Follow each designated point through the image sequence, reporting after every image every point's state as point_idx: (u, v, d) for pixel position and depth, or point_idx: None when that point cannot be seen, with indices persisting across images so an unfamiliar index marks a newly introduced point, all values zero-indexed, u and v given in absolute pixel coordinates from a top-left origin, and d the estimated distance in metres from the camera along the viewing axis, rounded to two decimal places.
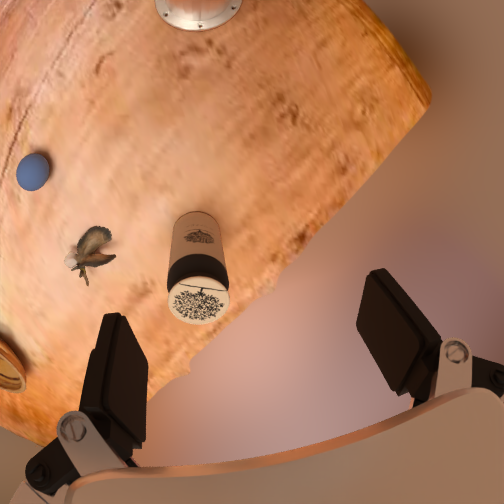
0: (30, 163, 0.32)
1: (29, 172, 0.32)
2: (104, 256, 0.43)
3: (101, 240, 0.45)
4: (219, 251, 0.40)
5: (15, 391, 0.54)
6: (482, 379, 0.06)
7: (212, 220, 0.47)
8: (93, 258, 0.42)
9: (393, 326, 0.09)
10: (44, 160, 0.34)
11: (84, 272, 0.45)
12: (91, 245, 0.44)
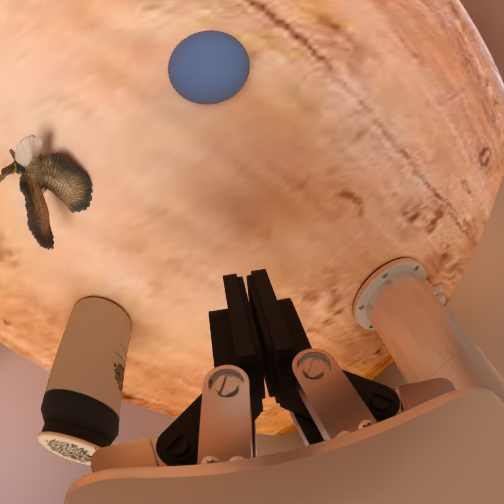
0: (235, 81, 0.17)
1: (219, 78, 0.16)
2: (47, 226, 0.21)
3: (69, 201, 0.23)
4: None
5: None
6: None
7: None
8: (40, 209, 0.19)
9: (259, 329, 0.09)
10: None
11: (10, 173, 0.18)
12: (59, 187, 0.21)
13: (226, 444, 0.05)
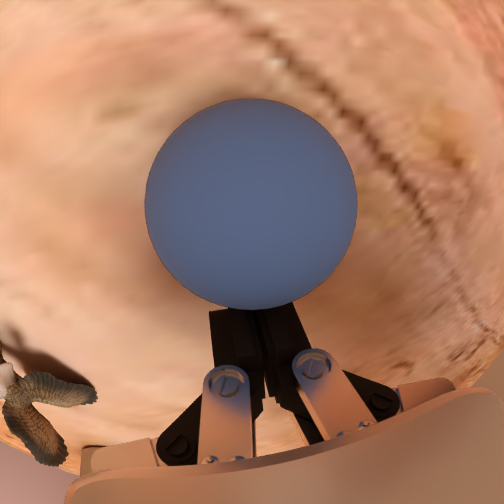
0: (340, 201, 0.06)
1: (293, 178, 0.05)
2: (56, 443, 0.13)
3: None
4: None
5: None
6: None
7: None
8: (42, 438, 0.12)
9: (259, 329, 0.09)
10: (309, 291, 0.08)
11: None
12: (54, 404, 0.14)
13: (226, 444, 0.05)
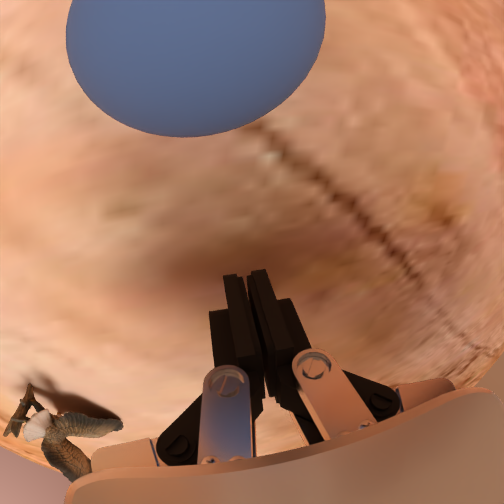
0: None
1: None
2: (88, 467, 0.15)
3: None
4: None
5: None
6: None
7: None
8: (77, 466, 0.14)
9: (259, 329, 0.09)
10: None
11: (20, 422, 0.13)
12: None
13: (226, 444, 0.05)
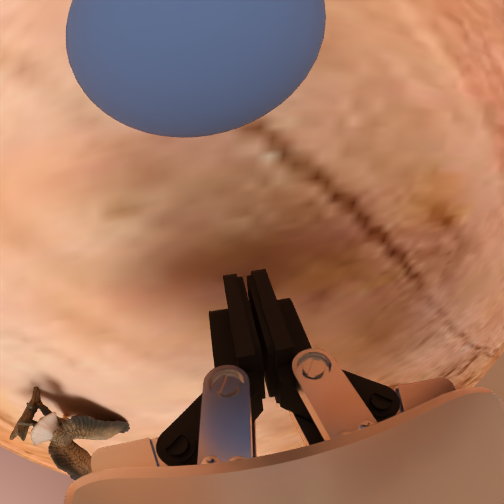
0: None
1: None
2: None
3: None
4: None
5: None
6: None
7: None
8: (84, 468, 0.14)
9: (259, 329, 0.09)
10: None
11: None
12: (93, 439, 0.16)
13: (226, 444, 0.05)
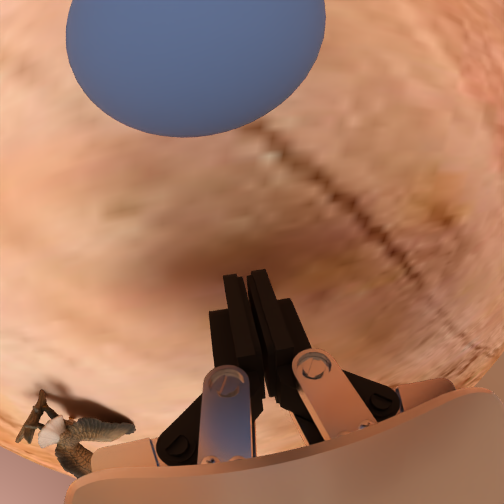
0: None
1: None
2: None
3: None
4: None
5: None
6: None
7: None
8: (91, 470, 0.14)
9: (259, 329, 0.09)
10: None
11: None
12: (99, 441, 0.16)
13: (226, 444, 0.05)
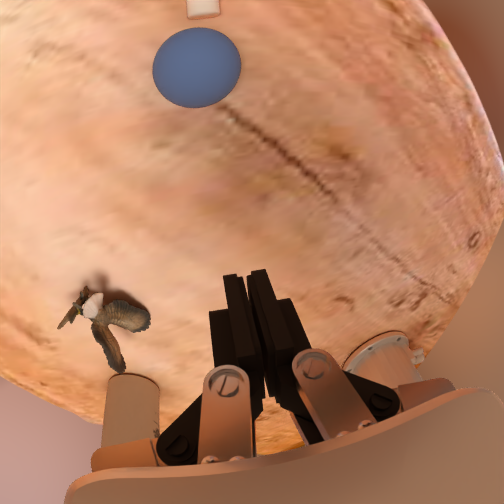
0: None
1: None
2: (120, 356, 0.27)
3: (132, 329, 0.30)
4: None
5: None
6: None
7: None
8: (114, 348, 0.26)
9: (259, 329, 0.09)
10: None
11: None
12: (124, 325, 0.28)
13: (226, 444, 0.05)
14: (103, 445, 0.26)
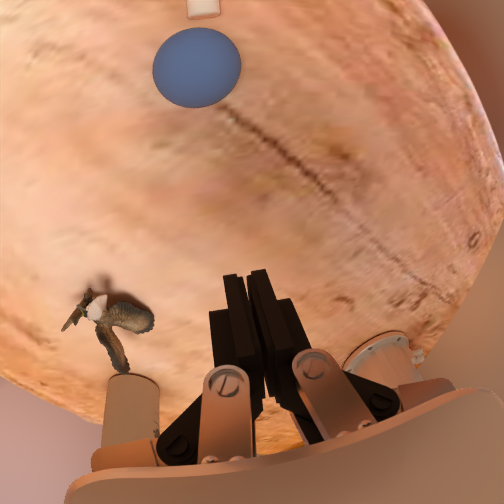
0: None
1: None
2: (124, 357, 0.28)
3: (136, 330, 0.30)
4: None
5: None
6: None
7: None
8: (118, 350, 0.26)
9: (259, 329, 0.09)
10: None
11: None
12: (128, 326, 0.28)
13: (226, 444, 0.05)
14: (103, 445, 0.26)
